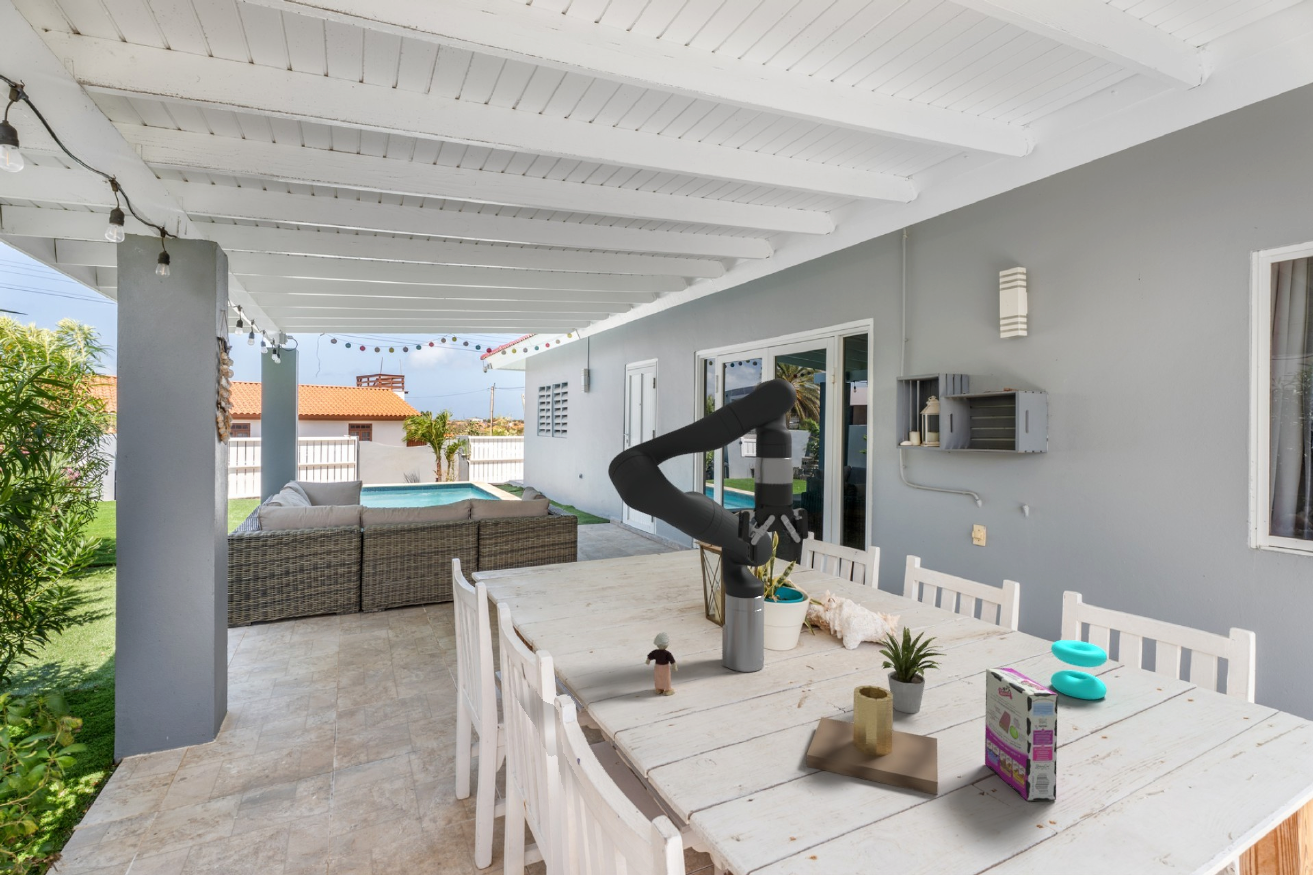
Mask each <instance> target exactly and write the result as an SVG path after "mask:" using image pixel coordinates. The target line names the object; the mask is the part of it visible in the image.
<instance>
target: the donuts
mask: <svg viewBox="0 0 1313 875" xmlns="http://www.w3.org/2000/svg"><path fill="white" fill-rule="evenodd" d="M1050 650H1051V652H1052V655H1053V656H1054V657H1055V658H1057V659H1058V660H1059V661H1060V662H1063V663H1066V664H1068V665H1072V666H1075V667H1081V668H1097V667H1101V666H1103V665H1104V664H1105V663H1106V662H1107V660H1108V655H1107V652H1106V651H1105V650H1104V649H1103V648H1101V647H1100V646H1098V645H1096V644H1092V643H1090V642H1086V641H1082V640H1074V639H1060V640H1057V641H1054V642H1053V643H1052V644H1051V648H1050ZM1050 682H1051V685H1052V686H1053V688H1054V689H1055V690H1056V691H1057V692H1060V693H1061V694H1063V695H1065V696H1068V697H1072V698H1077V699H1082V700H1099V699H1102V698H1104V697H1105V696H1106V695H1107V692H1108V690H1107V687H1106V684H1105V683H1104V682H1103V681H1102V680H1101V679H1100V678H1098V677H1096V676H1094V675H1092V674H1090V673H1087V672H1084V671H1078V670H1069V669H1065V670H1063V669H1062V670H1059V671H1056V672H1054V674H1052V675H1051V677H1050Z"/></svg>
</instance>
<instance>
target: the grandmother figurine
mask: <svg viewBox="0 0 1313 875" xmlns="http://www.w3.org/2000/svg"><path fill="white" fill-rule="evenodd" d="M669 642H670V635H669V634H668V633H665V632H660V633H657V635H656V636H655V638H654V640H653V644H654V646H656V647H657V648H656V649H653V650H652V651H650V652H649V653H648V654H647V655H646V656H647V657H646V660H645V664H646V665H647V666H648V665H650V664H651V662H652V661H655V662H654V675H653V676H654V677H653V678H654V690H653V693H654V694H657V695H658V694H661V693H662V695H663V696H671V695H674V694H675V690H674V688H672V680H671V679H672V678H671V668H672V671H673V672H674V673H676V672H678V666H677V662H676V659H675V658H674V655H673V654H672V652H671V651H669V650H667V648H668V647H669Z"/></svg>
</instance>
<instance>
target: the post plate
mask: <svg viewBox="0 0 1313 875" xmlns="http://www.w3.org/2000/svg"><path fill="white" fill-rule="evenodd" d="M853 733H854V722H852V721H851V722H850V721H845V720H839V719H834V718H829V717H824V716H821V717H820V719H819V723H818V724H817V728H816V730H815V732H814V735H813V738H812V741H811V742H810V744H809V748H808V750H807V753H806V767H808V768H813V769H816V770H817V769H818V770H821V771H825V772H830V773H834V774H839V775H844V776H849V777H854V778H859V779H863V780H867V781H872V782H878V783H880V784H886V785H890V786H894V787H899V788H902V789H903V788H904V789H909V790H912V791H918V792H922V793H928V794H932V795H937V796H938V792H939V791H938V790H939V789H938V787H939V785H938V784H939V783H938V782H939V781H938V779H939V777H938V772H939V771H938V770H939V769H938V768H939V767H938V738H937V737H932V736H928V735H926V736H925V735H921V734H914V733H909V732H904V731H901V730H900V731H899V730H893V729H892V752H891V753H889V754H887V755H881V756H875V755H870V754H866V753H864V752H862V751H859V750H858V749H857V748H856V747H855V746H854V745H853Z"/></svg>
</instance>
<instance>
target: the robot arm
mask: <svg viewBox="0 0 1313 875" xmlns="http://www.w3.org/2000/svg"><path fill="white" fill-rule="evenodd" d="M797 394H798V393H797V389H796V388H795V386H794V385H793V384H792V383H791V382H790V381H788V380H787V379H783V378H774V379H770V380H765V381H762V382H760V383H759V384H758V385H757V386H756V387H755V389H754V390H753V391H751V392H750V393H748V394H747V395H745V396H743V397H741V398H739V399H735V400H732V401H731V402H728V403H727V404H725V405H723V406H721V407H719V408H718V409H716V410H714V411H712V412H711V413H708V414H707V415H706V416H704V417H702V418H700V419H698V420H696V421H694V422H692V423H689V424H687V425H685V426H683V427H681V428H678V429H675V430H672V431H670V432H667V433H665V434H661V435H658V436H657V437H653V438H652V439H649V440H646V441H643V442H640V443H638V444H636V445H633V446H630V447H629V448H626V449H625V450H623V451H621V452H619V453H618V454H616V456H615V457H614V458H613V459H612V460H611V461H610V463H609V465H608V478H609V479H610V482H611V483H612V485H613V487H614V489H615V491H616V492H617V494H618V496H619V497H620V499H621V501H623V503H624V504H625V505H626V506H627V507H629V508H631V509H633V510H635V511H638V512H640V513H642V514H645V515H648V516H651V517H654V518H656V519H658V520H661V521H663V522H664V523H666V524H668V525H670V526H671V527H672V528H673V527H674V528H675V529H677V530H679V531H680V532H682V533H683V534H685V535H687V536H689V537H691V538H692V539H695V540H696V541H699V542H701V543H705V544H708V545H710V546H711V545H712V546H714V547H718V548H721V567H722V581H723V584H724V590H725V594H724V596H725V598H724V600H725V602H724V608H725V609H724V616H725V617H724V624H723V625H722V627H721V628H722V633H721V634H722V636H721V637H722V639H721V640H722V641H721V642H722V644H721V645H722V646H721V647H722V648H721V651H722V653H721V658H722V659H721V660H722V661H721V666H723V667H726V668H729V669H730V670H733V671H737V672H743V673H744V672H745V673H747V672H748V673H749V672H757V671H760V670H762V669H763V668H764V667H765V666H764V664H765V663H764V662H765V646H764V645H765V584H764V582H763V581H762V580H761V579H760V578H758V577H757V576H756V575H754V574H753V573H752V572H751V571H750V570H749V568H748V567H753V568H756V567H757V568H758V567H762V566H763V567H764V566H765V565H766V564H767V563H768V562H769V561H771V558H772V557H773V552H774V545H773V541H772V537H771V536H770V534H769V533H774V532H778V533H782V532H784V534H785V535H786V536H787V538H788V540H789V541H787V554H788V556H787V557H788V561H791V562H796V561H797V559H798V558H799V556H800V546H799V545H800V542H801V541H803V540H807V539H808V538H809V524H808V511H807V509H805V508H801V507H797V508H796V509H793V500H794V497H793V496H794V468H793V461H792V460H793V458H792V456H793V455H792V450H793V448H792V446H793V445H792V444H793V441H792V440H793V439H792V438H793V437H792V433H791V431H790V429H788V428H787V419H786V417H787V416H786V415H787V413H788V412H790V411H791V409H793V408H794V406H795V404H796V401H797V398H798V396H797ZM753 430H755V434H756V435H755V436H756V437H755V438H756V439H755V462H754V463H755V464H754V471H753V472H754V475H753V479H754V483H753V484H754V487H753V488H754V489H753V490H754V492H753V493H754V497H753V498H754V500H753V501H754V508H753V510H749V511H748V510H745V509H740V510H739V511H738V512H739V513H738V516H737V515H736V514H734V513H733V512H731V511H730V510H728V509H727V508H725V507H724V506H723V505H721V504H720V503H718V502H717V501H715V500H714V499H712V498H711V497H710V496H708V495H706V494H704V493H702V492H699V491H692V490H691V491H685V492H684V491H682V490H681V489H680V488H678V487H677V486H675V485H674V484H673V483H672V482H671V481H670V480H669V479H668V478H667V477H666V476H665V474H664V473H663V471H662V470H661V469H660V467H659V465H661V464H663V463H664V462H667V461H668V460H670V459H672V458H676V457H679V456H683V455H689V454H690V455H691V454H698V453H705V452H707V453H708V452H713V451H716V450H717V451H718V450H719V449H722V448H724V447H726V446H728V445H730V444H732V443H734V442H735V441H737V440H738V439H741V438H742V437H744V436H745V435H747V434H748V433H750V432H751V431H753ZM793 518H794V519H795V520H796V522H795V523H796V529H795V527H794V526H793V524H792V523H791V521H792V519H793ZM752 519H754V520H755V523H754V525H753V524H752V523H751V522H752Z"/></svg>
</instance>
